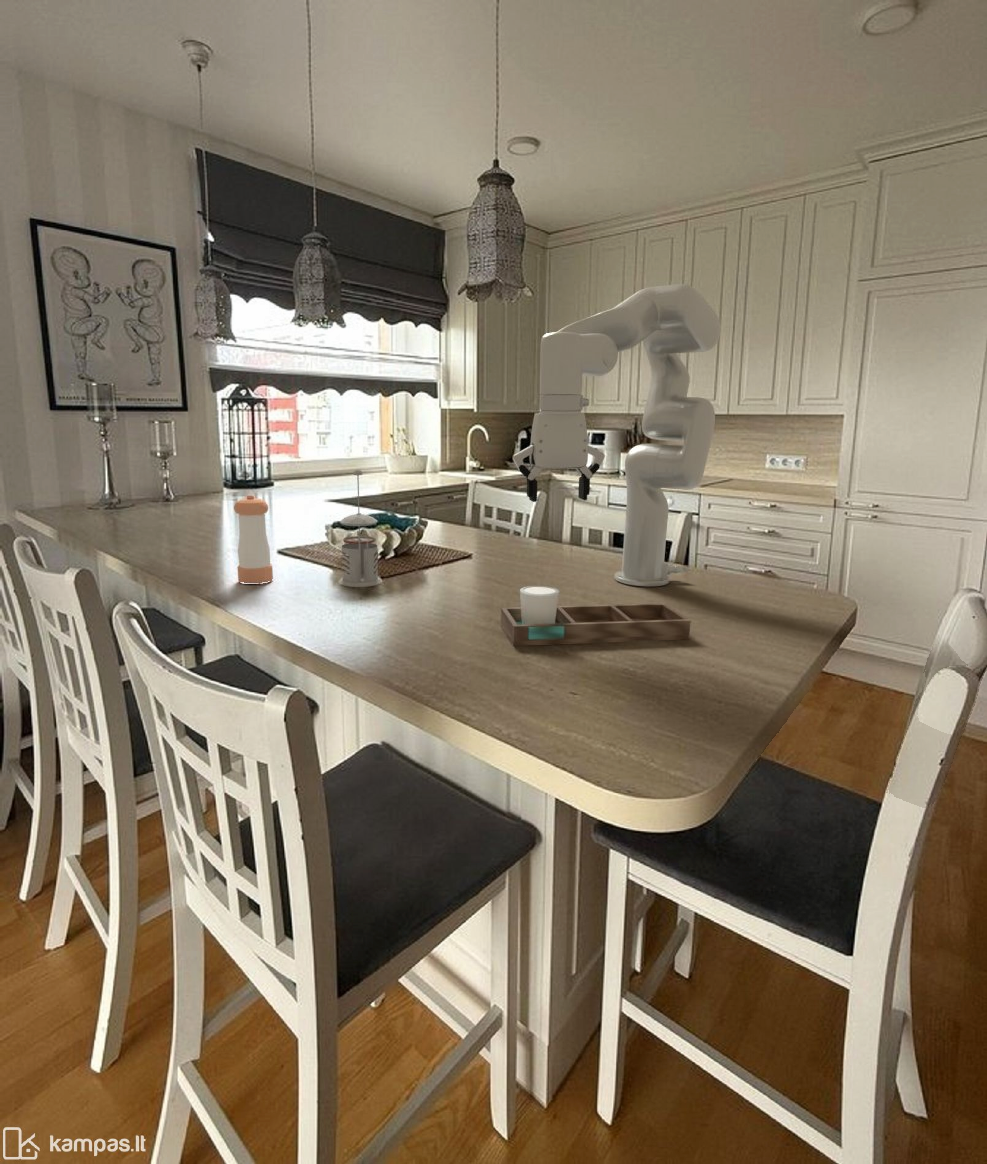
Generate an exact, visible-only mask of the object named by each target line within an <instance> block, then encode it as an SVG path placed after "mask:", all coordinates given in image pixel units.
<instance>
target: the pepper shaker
mask: <svg viewBox="0 0 987 1164" xmlns="http://www.w3.org/2000/svg"><path fill="white" fill-rule="evenodd" d="M233 509H234V512H235V514H236V515H238V517H237V518H238V529H239V535H238V547H237V554H238V555H237V558H238V565H237V580H238V581H239V582H244V583H262V582H268V581H272V579H273V580H274V573H273V565H272V563H271V550H270V549H271V548H270V545H269V540H268V536H267V529H266V513H268V511H269V505H268V503H267V502H266V501H265V500H263V499H261V498H257V497H255V495H253V494H247V496H246V498H242V499H239V500H237V501H236V502H235V503H234V505H233ZM238 581H237V582H238ZM239 582H238V583H239ZM272 582H273V581H272Z"/></svg>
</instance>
